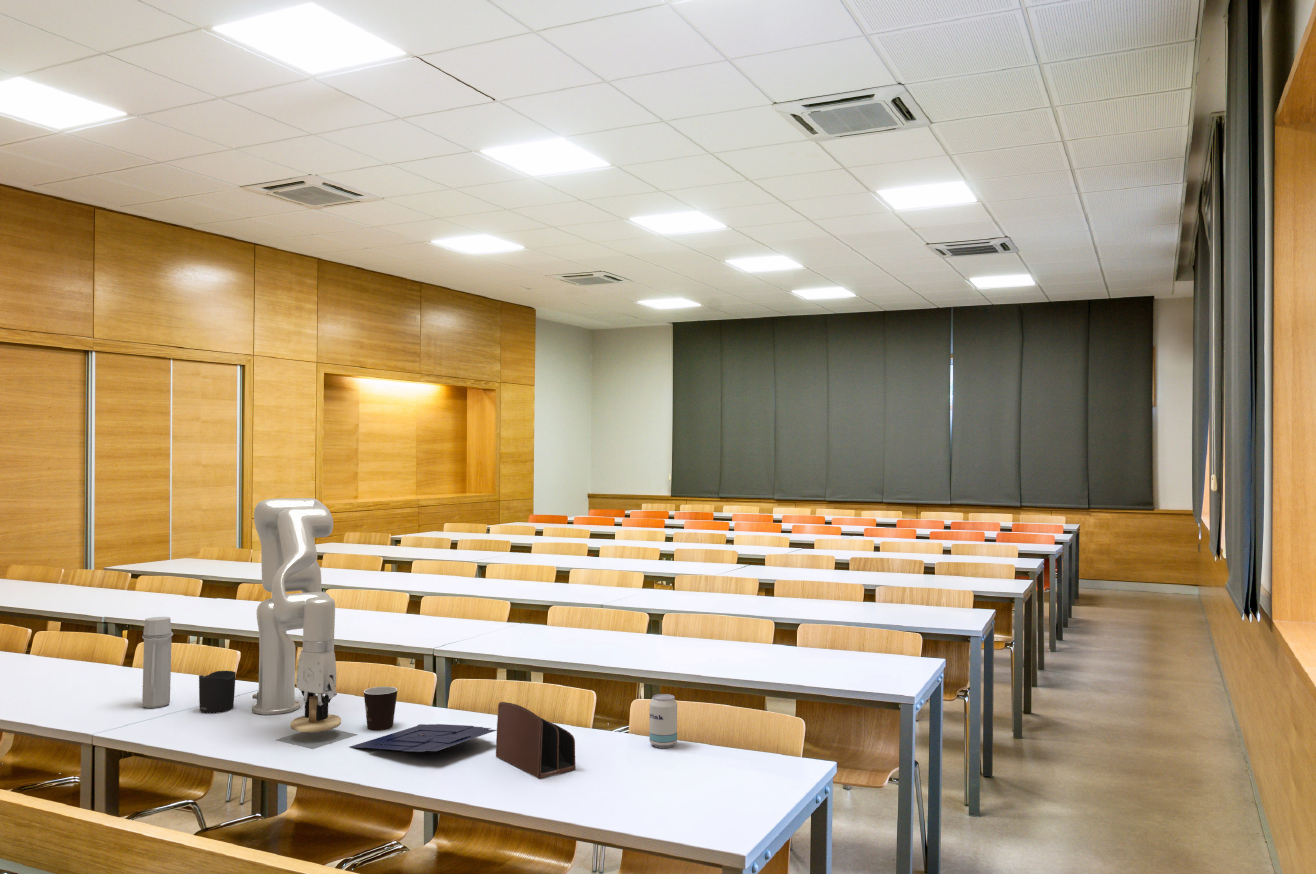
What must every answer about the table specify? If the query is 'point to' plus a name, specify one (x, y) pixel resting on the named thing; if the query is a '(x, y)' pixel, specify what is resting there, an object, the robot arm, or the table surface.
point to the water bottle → (157, 662)
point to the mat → (316, 738)
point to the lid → (311, 722)
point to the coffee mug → (380, 707)
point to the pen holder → (217, 691)
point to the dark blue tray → (426, 737)
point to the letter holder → (533, 742)
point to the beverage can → (663, 721)
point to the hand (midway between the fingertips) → (316, 717)
